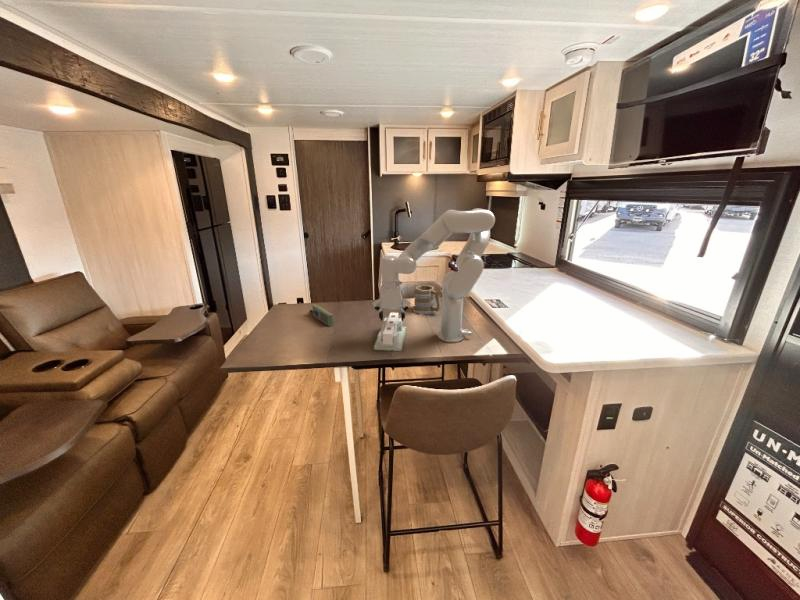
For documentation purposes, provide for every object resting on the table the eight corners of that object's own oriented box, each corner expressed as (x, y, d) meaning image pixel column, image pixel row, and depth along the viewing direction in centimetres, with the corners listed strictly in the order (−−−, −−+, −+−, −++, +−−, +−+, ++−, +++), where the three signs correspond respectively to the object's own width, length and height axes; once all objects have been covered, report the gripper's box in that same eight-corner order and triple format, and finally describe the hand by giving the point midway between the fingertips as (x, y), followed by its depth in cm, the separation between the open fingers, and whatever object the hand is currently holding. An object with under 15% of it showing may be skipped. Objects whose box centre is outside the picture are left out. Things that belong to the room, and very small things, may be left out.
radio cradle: (405, 329, 156) (405, 317, 154) (401, 351, 135) (401, 337, 133) (382, 328, 157) (381, 316, 155) (374, 349, 137) (373, 336, 134)
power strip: (398, 321, 156) (398, 312, 154) (392, 344, 134) (392, 333, 132) (390, 321, 156) (390, 312, 155) (383, 344, 134) (382, 333, 132)
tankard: (408, 310, 180) (408, 285, 175) (423, 305, 188) (424, 281, 183) (434, 320, 166) (435, 294, 161) (449, 314, 174) (451, 288, 169)
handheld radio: (328, 327, 159) (307, 313, 177) (334, 326, 161) (313, 312, 179) (328, 315, 157) (306, 302, 175) (334, 313, 159) (312, 301, 177)
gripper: (410, 281, 140) (411, 316, 145) (372, 281, 142) (375, 316, 147) (409, 286, 133) (410, 323, 138) (369, 286, 135) (372, 322, 140)
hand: (392, 319), depth 143 cm, fingers open, 9 cm apart
